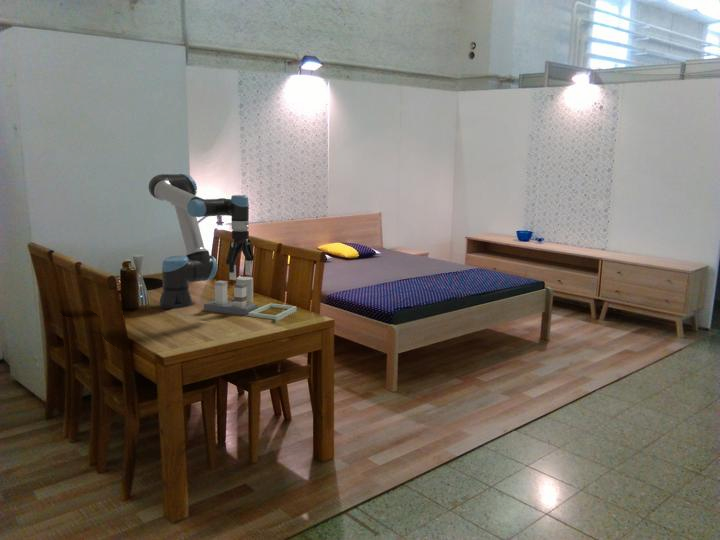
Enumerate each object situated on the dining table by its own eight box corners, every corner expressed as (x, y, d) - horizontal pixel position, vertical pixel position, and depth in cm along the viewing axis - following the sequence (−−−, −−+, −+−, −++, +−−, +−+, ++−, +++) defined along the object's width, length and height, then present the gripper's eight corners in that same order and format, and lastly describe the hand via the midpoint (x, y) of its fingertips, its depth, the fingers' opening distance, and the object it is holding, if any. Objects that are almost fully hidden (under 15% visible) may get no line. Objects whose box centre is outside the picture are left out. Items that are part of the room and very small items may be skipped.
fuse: (214, 309, 278) (214, 282, 276) (219, 307, 282) (219, 280, 280) (222, 310, 277) (222, 282, 275) (227, 308, 281) (227, 281, 279)
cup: (241, 304, 294) (241, 280, 292) (233, 301, 300) (233, 277, 298) (256, 302, 299) (256, 278, 297) (247, 299, 305) (247, 276, 303)
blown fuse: (233, 312, 275) (233, 284, 273) (238, 310, 279) (238, 282, 277) (242, 313, 274) (242, 285, 272) (246, 311, 278) (246, 283, 275)
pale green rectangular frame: (248, 318, 270) (248, 312, 269) (269, 308, 288) (269, 303, 288) (276, 321, 265) (276, 316, 265) (296, 311, 284) (296, 306, 283)
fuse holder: (204, 312, 277) (203, 303, 276) (216, 307, 286) (216, 299, 286) (246, 317, 270) (246, 309, 269) (257, 312, 279) (257, 304, 279)
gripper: (232, 233, 257) (233, 282, 261) (261, 228, 280) (261, 273, 284) (217, 232, 260) (218, 281, 263) (247, 227, 283) (247, 272, 286)
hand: (240, 277), depth 273 cm, fingers open, 13 cm apart
